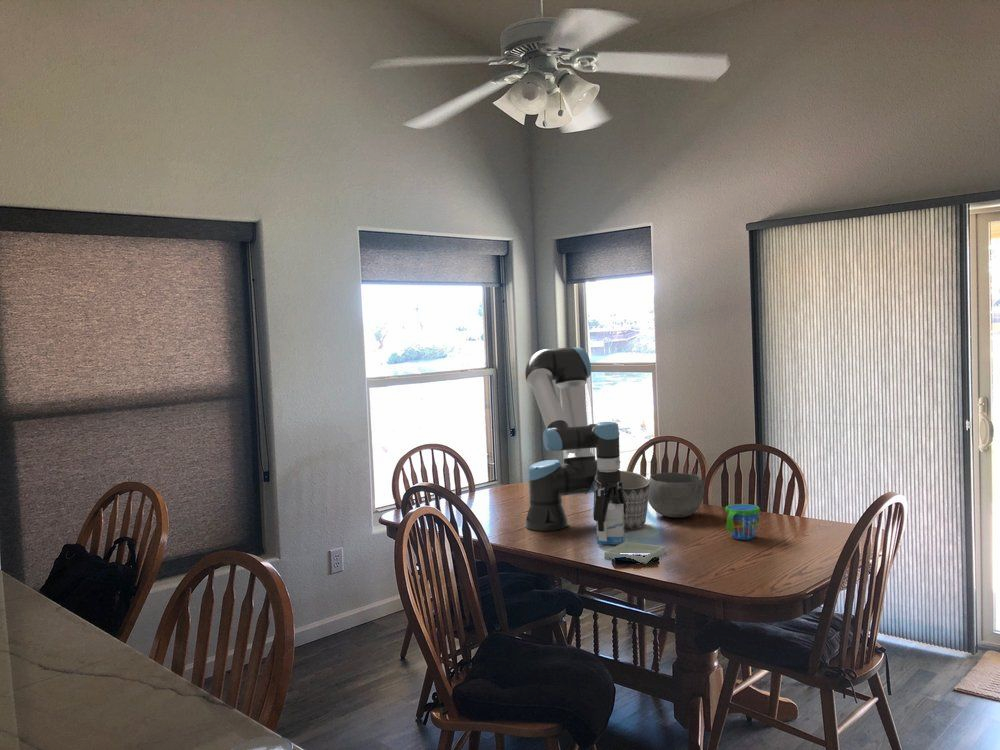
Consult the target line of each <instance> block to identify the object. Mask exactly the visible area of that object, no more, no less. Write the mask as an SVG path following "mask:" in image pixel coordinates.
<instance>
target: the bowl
mask: <svg viewBox="0 0 1000 750" xmlns="http://www.w3.org/2000/svg"><path fill="white" fill-rule="evenodd" d="M648 479H649V481H650V484H649V494H648V505H649V506H651V508H652V509H653V510H654V511H655V512H656V513H658V514H660V515H661V516H664V517H669V518H675V519H676V518H677V519H678V518H680V519H681V518H687V517H689V516H692V515H693V514H694V513H696V512H697V511H698V509H699V508H700V507H701V504H702V502H703V500H704V494H705V486H704V481H703V479H702V477H701V475H698V474H693V473H681V472H660V473H654V474H652V475H651V476H649V478H648Z"/></svg>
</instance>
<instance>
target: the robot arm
mask: <svg viewBox="0 0 1000 750" xmlns="http://www.w3.org/2000/svg"><path fill="white" fill-rule="evenodd" d="M591 373H592V365H591V360H590V357H589V354H588V352H587V351H586V350H585V348H583V347H572V346H570V347H558V348H544V349H540V350H538V351H537V352H535V353H534V354H533V355H532V356H531V357H530V358H529V360H528V361H527V363H526V367H525V373H524V375H525V376H524V377H525V381H526V383H527V386H528V387H530V388H531V389H532V392H533V395H534V398H535V401H536V403H537V406H538V410H539V412H540V415H541V418H542V421H543V424H544V426H545V429H544V430H543V433H542V441H543V447H544V449H545V450H546V451H547V452H561V451H566V454H565V456H564V457H563V459H562V460H563V463H561V462H560V460H558V459H547V460H546V459H545V460H541V461H537V462H535V463H532V464H531V465H530V466H529V468H528V470H527V471H528V472H527V473H528V475H527V480H528V496H529V498H528V499H529V508H528V511H527V515H526V520H525V527H526V529H529V530H532V531H556V530H561V529H564V528H566V527H568V523H569V522H568V517H567V514H566V512H565V509H564V506H563V501H562V500H563V499H562V497H563V496H564V497H565V496H575V495H576V496H577V495H588V494H594V477H595V475H597V481H598V482H599V483H601V489H600V490H599V489H596V502H595V511H594V518H593V521H594V522H596V521H598V538H599V541H607V524H606V521H605V517H606V513H607V509H608V504H609V502H610V501H611V500H612V503H613V504H623V508H624V513H625V512H626V510H625V509H626V504H625V499H624V494H623V490H622V482H620V480H621V477H620V471H621V470H620V469H621V460H620V454H621V453H620V452H621V451H620V431H619V423H617V422H614V421H601V422H597V423H590V424H588V418H587V417H588V416H587V408H586V407H587V406H586V401H585V399H586V398H585V391H584V387H585V385H586V384H587V383H588V380H587V379H588V378H590V377H591ZM553 381H555V382H554V383H555V386H556V387H557V388H558V389H559V390H560V398H561V400H559V397H558V394H557V392H556V389H555V386H554V383H553ZM560 401H561V402H560ZM591 449H595V451H596V452H595V453H596V456H595V454H593V452H592V451H591Z"/></svg>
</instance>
